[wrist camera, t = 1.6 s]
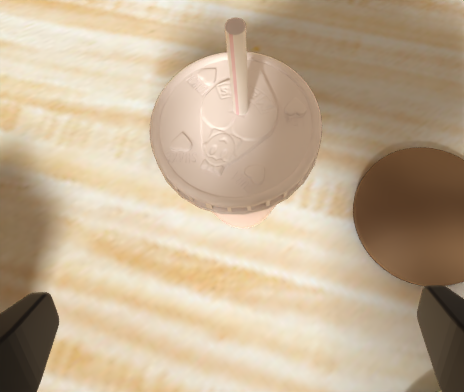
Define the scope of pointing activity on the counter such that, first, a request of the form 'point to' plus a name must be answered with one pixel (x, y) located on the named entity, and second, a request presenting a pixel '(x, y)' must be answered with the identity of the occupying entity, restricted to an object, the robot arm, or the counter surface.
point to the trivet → (414, 215)
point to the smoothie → (236, 132)
